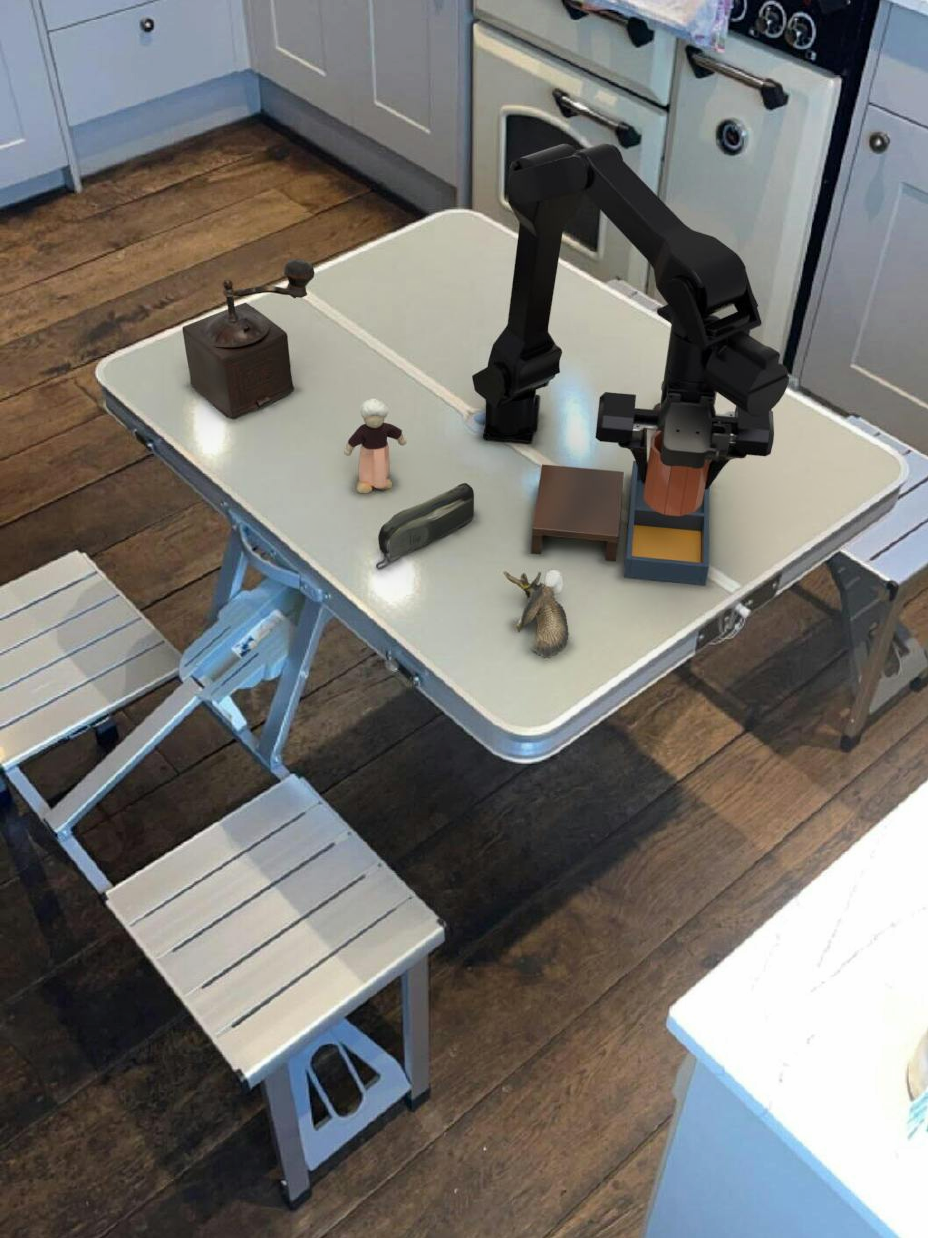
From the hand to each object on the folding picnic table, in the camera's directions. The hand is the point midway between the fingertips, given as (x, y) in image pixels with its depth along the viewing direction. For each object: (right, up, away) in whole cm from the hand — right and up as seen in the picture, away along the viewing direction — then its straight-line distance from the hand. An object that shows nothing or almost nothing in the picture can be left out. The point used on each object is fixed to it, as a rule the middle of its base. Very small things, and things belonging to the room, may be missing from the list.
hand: (674, 484), depth 145 cm
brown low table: (-10, -4, +11) cm, 15 cm away
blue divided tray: (+1, -4, +10) cm, 11 cm away
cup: (0, -1, +1) cm, 2 cm away
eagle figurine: (-16, -16, -1) cm, 22 cm away
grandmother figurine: (-34, +2, +16) cm, 38 cm away
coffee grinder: (-52, +17, +31) cm, 63 cm away
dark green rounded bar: (-28, -6, +9) cm, 30 cm away
